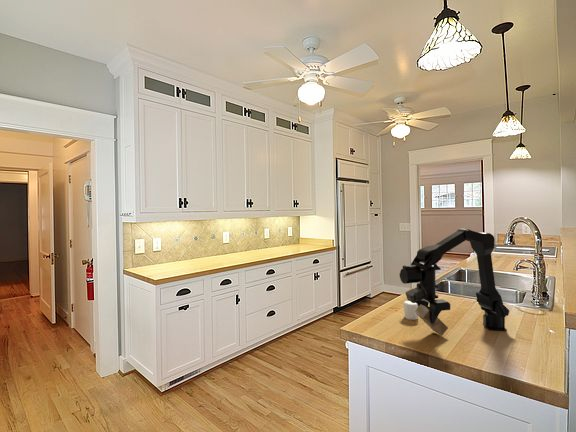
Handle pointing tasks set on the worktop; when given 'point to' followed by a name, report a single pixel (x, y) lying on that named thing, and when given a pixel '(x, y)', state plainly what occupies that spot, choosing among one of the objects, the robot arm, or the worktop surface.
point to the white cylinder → (410, 310)
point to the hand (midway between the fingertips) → (427, 320)
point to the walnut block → (425, 316)
